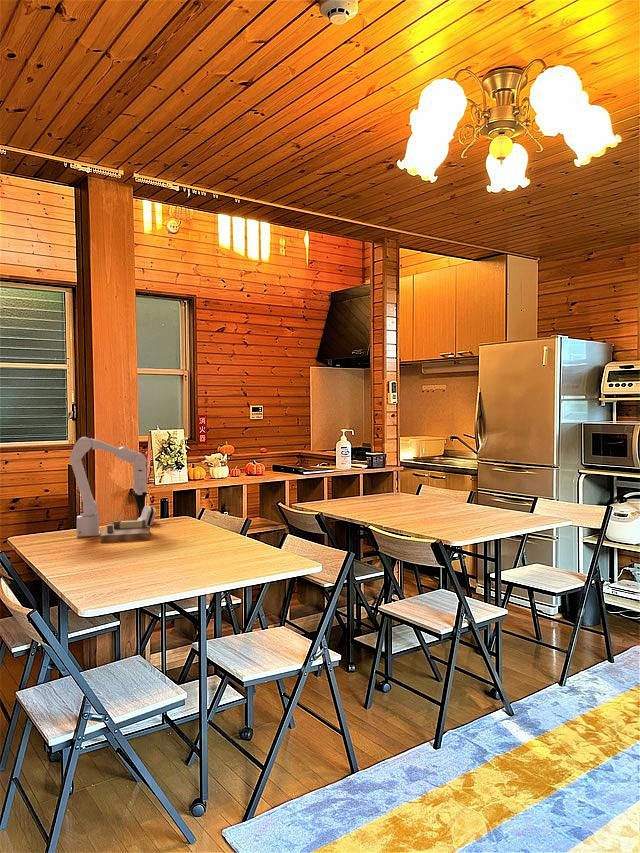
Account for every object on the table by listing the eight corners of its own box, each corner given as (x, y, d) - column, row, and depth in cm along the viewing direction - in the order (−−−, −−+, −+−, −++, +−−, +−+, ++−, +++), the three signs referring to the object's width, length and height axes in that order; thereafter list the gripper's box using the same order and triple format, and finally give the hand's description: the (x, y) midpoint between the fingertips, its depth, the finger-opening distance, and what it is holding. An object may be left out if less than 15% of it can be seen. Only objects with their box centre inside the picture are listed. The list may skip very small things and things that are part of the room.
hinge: (136, 521, 330) (142, 502, 331) (145, 524, 332) (151, 504, 333) (141, 527, 315) (148, 506, 316) (150, 529, 317) (157, 509, 318)
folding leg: (113, 529, 293) (113, 522, 293) (114, 527, 296) (113, 521, 296) (145, 527, 296) (145, 520, 296) (145, 526, 300) (145, 519, 299)
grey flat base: (100, 542, 279) (100, 528, 279) (104, 534, 297) (103, 521, 297) (149, 539, 284) (149, 526, 284) (150, 532, 301) (149, 519, 301)
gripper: (148, 480, 297) (149, 510, 298) (149, 477, 312) (150, 505, 312) (132, 481, 296) (133, 511, 296) (133, 477, 310) (134, 506, 310)
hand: (140, 508), depth 304 cm, fingers open, 3 cm apart
